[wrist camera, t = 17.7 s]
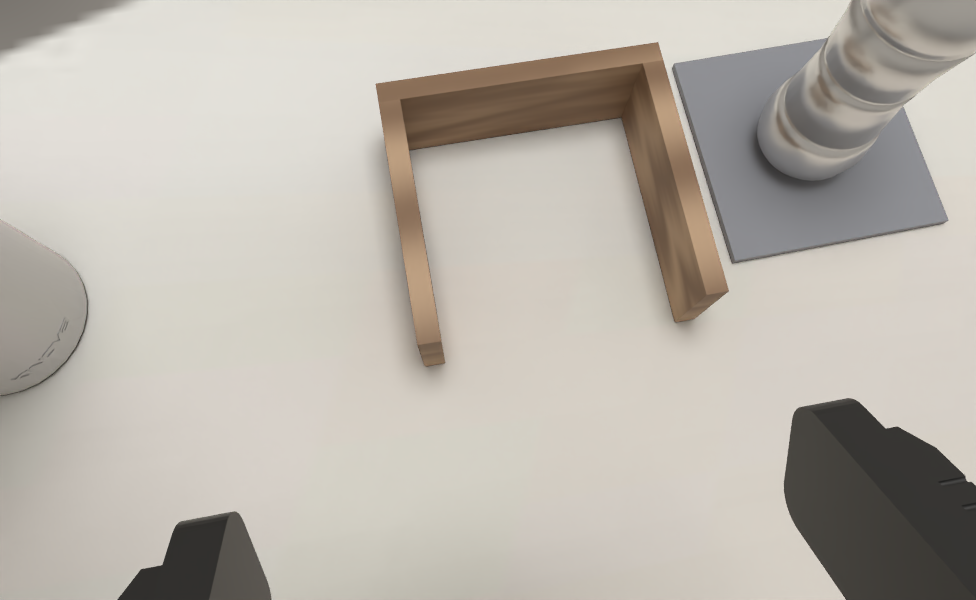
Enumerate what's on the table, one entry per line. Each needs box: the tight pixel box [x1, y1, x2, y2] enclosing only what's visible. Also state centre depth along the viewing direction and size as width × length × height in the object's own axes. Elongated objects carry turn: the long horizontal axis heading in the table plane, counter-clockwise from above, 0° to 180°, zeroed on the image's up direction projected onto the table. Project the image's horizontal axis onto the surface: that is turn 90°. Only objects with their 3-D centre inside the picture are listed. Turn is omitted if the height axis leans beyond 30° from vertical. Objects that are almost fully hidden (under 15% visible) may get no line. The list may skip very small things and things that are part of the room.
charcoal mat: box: [672, 38, 948, 263], centre depth 46 cm, size 14×14×1 cm
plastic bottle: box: [757, 0, 976, 181], centre depth 36 cm, size 6×7×20 cm
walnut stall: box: [376, 42, 729, 366], centre depth 41 cm, size 15×16×6 cm
